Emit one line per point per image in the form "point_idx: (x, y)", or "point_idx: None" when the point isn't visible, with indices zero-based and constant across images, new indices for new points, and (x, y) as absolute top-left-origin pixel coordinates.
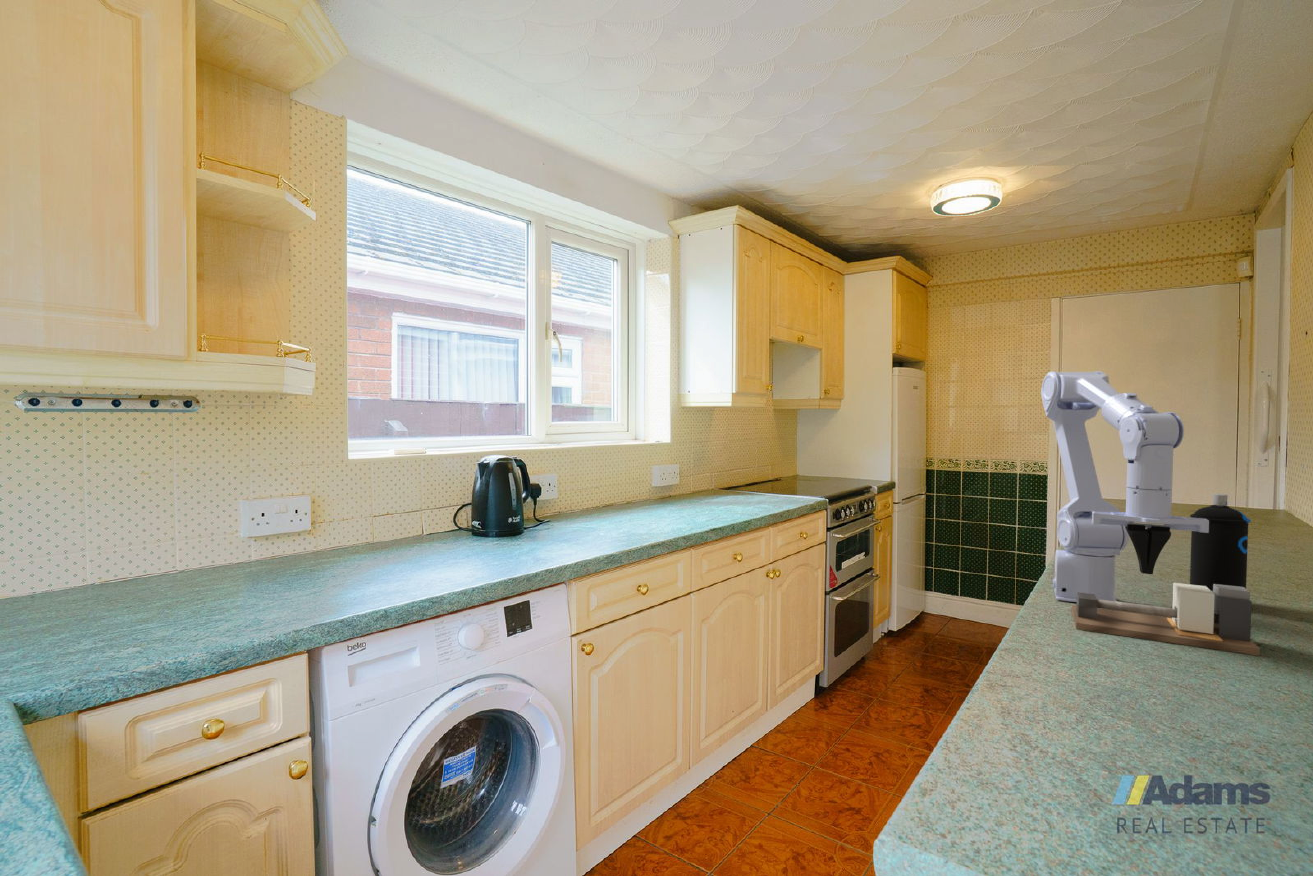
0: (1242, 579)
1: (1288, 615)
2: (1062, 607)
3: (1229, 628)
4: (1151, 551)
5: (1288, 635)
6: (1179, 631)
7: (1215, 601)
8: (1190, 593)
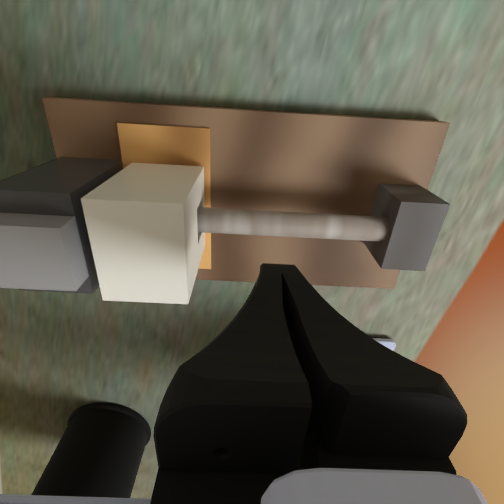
0: (46, 469)
1: (14, 404)
2: (398, 297)
3: (90, 166)
4: (280, 313)
5: (8, 291)
6: (204, 159)
7: None
8: (154, 200)
